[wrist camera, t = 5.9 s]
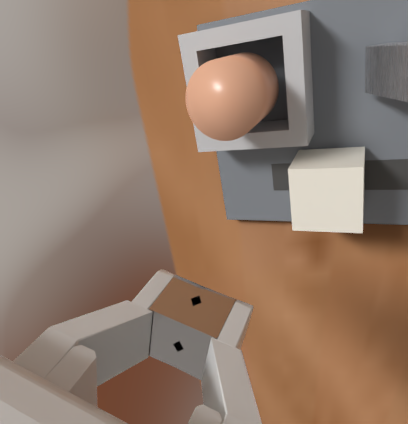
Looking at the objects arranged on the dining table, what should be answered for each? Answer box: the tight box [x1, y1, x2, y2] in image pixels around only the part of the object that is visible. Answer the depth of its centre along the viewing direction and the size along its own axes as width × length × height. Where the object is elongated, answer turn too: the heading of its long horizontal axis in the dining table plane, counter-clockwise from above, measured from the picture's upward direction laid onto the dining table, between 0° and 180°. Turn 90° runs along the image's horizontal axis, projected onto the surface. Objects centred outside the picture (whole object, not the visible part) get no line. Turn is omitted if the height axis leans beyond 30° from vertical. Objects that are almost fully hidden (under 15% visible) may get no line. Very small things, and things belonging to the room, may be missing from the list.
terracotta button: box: [186, 52, 279, 141], centre depth 20 cm, size 4×4×4 cm
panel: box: [178, 0, 408, 225], centre depth 21 cm, size 14×22×4 cm, turn 100°
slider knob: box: [288, 147, 365, 233], centre depth 22 cm, size 4×4×4 cm
